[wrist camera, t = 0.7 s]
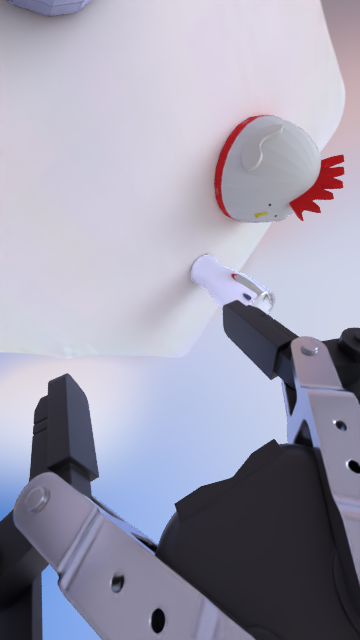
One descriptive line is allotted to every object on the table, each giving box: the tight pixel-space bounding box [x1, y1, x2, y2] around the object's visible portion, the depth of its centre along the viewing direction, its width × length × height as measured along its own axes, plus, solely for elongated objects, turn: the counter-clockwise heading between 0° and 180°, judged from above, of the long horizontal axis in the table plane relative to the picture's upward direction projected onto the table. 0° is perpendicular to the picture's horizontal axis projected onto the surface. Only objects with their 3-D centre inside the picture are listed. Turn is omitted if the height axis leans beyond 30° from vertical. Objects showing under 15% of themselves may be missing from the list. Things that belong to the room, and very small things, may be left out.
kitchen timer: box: [214, 115, 344, 223], centre depth 31 cm, size 14×14×15 cm
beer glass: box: [190, 255, 275, 315], centre depth 38 cm, size 7×7×15 cm
